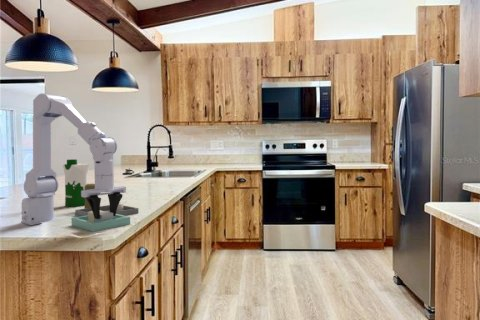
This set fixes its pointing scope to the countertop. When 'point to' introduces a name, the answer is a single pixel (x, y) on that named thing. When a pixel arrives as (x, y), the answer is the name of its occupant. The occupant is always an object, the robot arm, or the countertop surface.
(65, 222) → the countertop surface
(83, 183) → the milk carton
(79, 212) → the tray
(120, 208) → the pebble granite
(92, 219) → the tan rectangular block
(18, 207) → the countertop surface
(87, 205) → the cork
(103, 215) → the light gray rectangular block
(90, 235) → the countertop surface
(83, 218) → the dish
